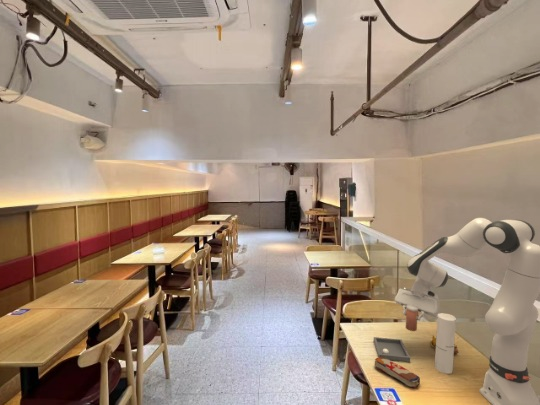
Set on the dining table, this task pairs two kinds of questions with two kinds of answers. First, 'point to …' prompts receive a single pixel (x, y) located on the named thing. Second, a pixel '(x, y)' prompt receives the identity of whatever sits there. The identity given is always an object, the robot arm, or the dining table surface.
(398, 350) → the tray
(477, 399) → the dining table surface
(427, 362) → the dining table surface
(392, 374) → the pencil case
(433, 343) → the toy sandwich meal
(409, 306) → the shaker
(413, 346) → the dining table surface
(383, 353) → the mixing ball
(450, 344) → the cylindrical container
